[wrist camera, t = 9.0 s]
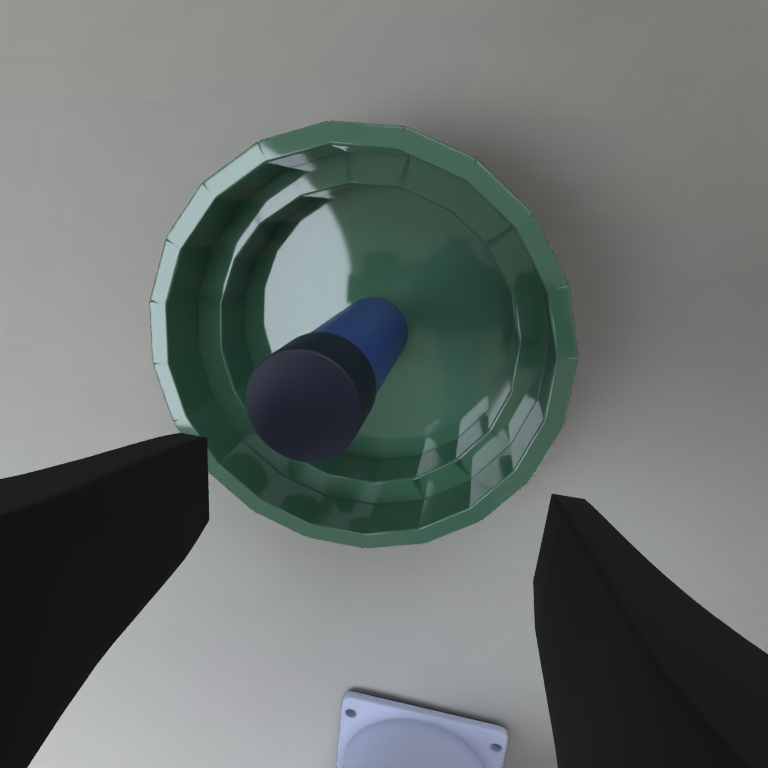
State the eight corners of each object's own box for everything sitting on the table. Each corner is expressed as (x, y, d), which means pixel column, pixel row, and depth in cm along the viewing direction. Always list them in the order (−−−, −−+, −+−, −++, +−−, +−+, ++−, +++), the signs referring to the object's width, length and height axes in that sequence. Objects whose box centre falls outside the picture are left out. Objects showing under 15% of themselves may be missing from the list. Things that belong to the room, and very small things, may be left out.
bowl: (521, 509, 22) (529, 581, 17) (218, 456, 24) (159, 509, 19) (592, 159, 17) (625, 142, 13) (214, 128, 19) (138, 105, 15)
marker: (406, 372, 20) (356, 472, 12) (335, 362, 21) (243, 453, 13) (414, 299, 19) (366, 357, 12) (339, 290, 20) (244, 340, 12)
